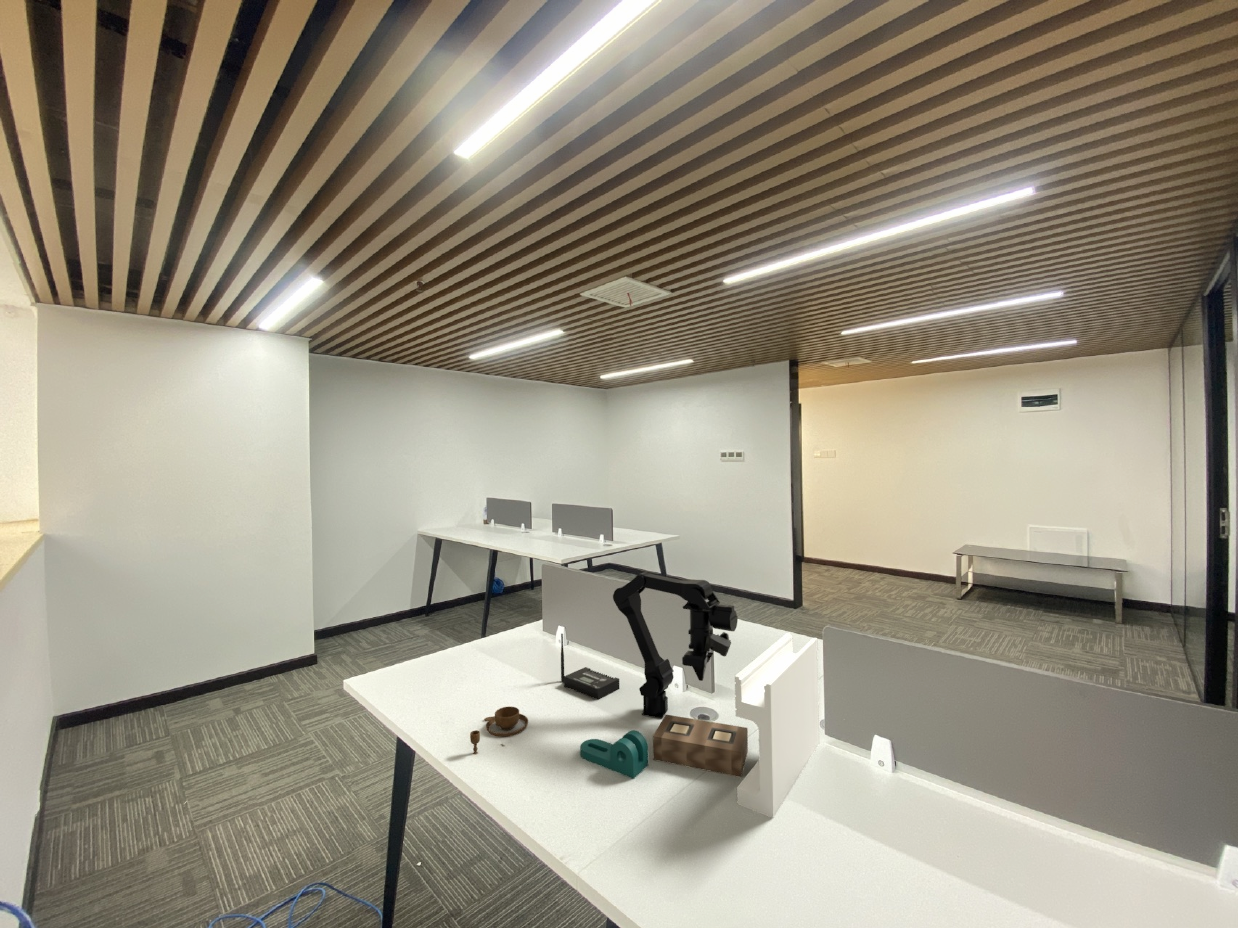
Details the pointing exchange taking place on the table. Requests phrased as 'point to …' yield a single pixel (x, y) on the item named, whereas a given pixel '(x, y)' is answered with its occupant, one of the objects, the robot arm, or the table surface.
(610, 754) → the bracket
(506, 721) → the place setting
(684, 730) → the peg
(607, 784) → the table surface
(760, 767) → the block
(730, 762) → the band block
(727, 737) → the peg
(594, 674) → the wireless controller
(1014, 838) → the table surface
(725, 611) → the robot arm
